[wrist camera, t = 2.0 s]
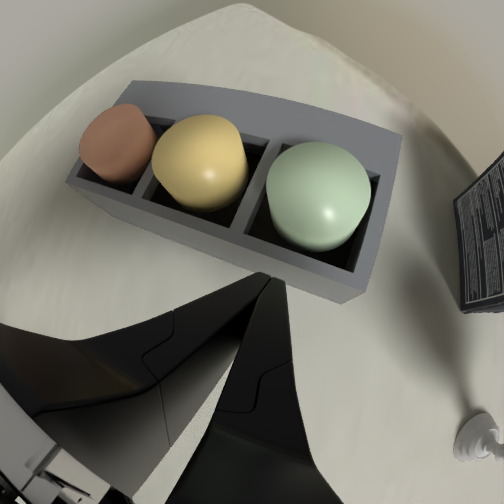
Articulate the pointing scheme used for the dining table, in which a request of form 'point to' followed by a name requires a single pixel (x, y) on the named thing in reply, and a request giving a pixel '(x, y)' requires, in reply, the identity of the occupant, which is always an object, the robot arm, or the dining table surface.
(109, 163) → the button terracotta
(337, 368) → the dining table surface
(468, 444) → the chalice
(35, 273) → the dining table surface
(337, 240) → the button sage
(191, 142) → the button ochre
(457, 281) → the dining table surface
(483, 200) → the small box
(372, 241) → the grey compartment box
